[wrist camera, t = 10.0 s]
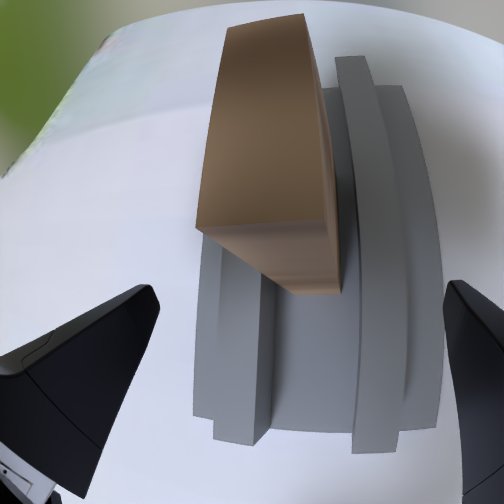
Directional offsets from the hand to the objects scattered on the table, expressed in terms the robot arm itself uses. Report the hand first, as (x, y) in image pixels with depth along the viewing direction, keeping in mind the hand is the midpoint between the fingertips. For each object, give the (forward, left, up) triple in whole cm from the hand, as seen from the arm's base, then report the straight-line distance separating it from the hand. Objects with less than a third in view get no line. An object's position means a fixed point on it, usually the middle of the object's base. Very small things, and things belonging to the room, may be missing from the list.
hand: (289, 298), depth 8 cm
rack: (+4, +1, -9) cm, 10 cm away
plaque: (+4, +1, -8) cm, 9 cm away
